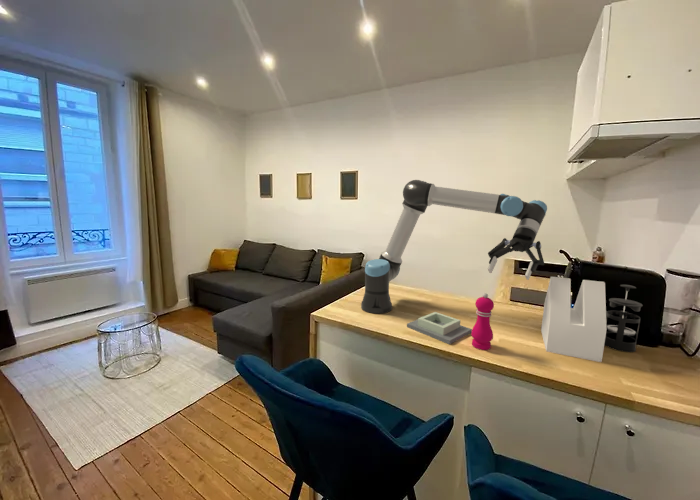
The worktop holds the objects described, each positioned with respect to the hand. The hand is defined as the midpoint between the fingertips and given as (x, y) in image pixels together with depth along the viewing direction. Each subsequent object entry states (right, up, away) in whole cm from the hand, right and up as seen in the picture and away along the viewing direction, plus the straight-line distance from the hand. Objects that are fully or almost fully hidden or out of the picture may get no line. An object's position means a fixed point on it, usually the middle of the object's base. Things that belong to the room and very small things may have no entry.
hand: (507, 274), depth 115 cm
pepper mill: (-12, -26, -5) cm, 29 cm away
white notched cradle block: (+20, -26, -4) cm, 33 cm away
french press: (+39, -26, -4) cm, 47 cm away
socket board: (-24, -23, +8) cm, 35 cm away
